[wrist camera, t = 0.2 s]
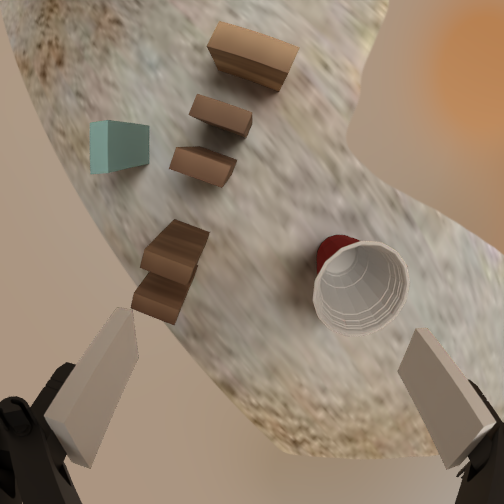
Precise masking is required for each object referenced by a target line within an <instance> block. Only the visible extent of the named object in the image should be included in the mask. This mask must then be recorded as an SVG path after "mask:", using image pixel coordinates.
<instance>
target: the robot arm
mask: <svg viewBox="0 0 504 504" xmlns="http://www.w3.org/2000/svg"><path fill="white" fill-rule="evenodd" d="M138 358H139V355H138V348H137V342H136V334H135V326H134V317H133V310H131V309H125V308H119V307H117V308H116V309H115V311H114V312H113V313H112V315H111V316H110V318H109V319H108V320H107V322H106V323H105V324H104V326H103V327H102V329H101V330H100V331H99V333H98V334H97V336H96V337H95V338H94V340H93V341H92V343H91V344H90V345H89V347H88V348H87V350H86V351H85V353H84V354H83V356H82V357H81V359H80V360H79V362H78V363H77V364H76V365H75V364H72V363H68V362H66V363H65V364H63V365H62V366H60V367H59V368H57V369H56V371H55V372H54V374H53V375H52V377H51V379H50V380H49V381H48V382H47V384H46V386H45V387H44V388H43V389H42V391H41V392H40V394H39V395H38V397H37V398H36V400H35V401H34V403H33V404H32V406H31V407H29V405H28V403H27V402H26V401H25V400H24V399H23V398H20V397H17V396H16V397H8V398H5V399H3V400H2V401H1V402H0V504H22V502H23V504H82V503H81V501H80V498H79V496H78V494H77V492H76V489H75V487H74V485H73V483H72V480H71V478H70V475H69V473H68V470H67V467H66V465H65V463H64V462H63V461H64V459H65V457H66V455H68V457H69V458H70V460H71V461H72V462H73V463H75V464H78V465H81V466H84V467H87V468H89V469H91V466H92V463H93V461H94V459H95V456H96V454H97V451H98V449H99V446H100V444H101V441H102V439H103V437H104V434H105V432H106V429H107V427H108V425H109V423H110V420H111V418H112V416H113V413H114V411H115V409H116V407H117V404H118V402H119V400H120V398H121V395H122V393H123V391H124V389H125V386H126V384H127V382H128V380H129V378H130V376H131V373H132V371H133V369H134V367H135V365H136V363H137V361H138ZM398 373H399V375H400V377H401V379H402V381H403V383H404V384H405V386H406V388H407V390H408V392H409V394H410V396H411V398H412V400H413V401H414V403H415V405H416V407H417V409H418V411H419V413H420V415H421V417H422V419H423V421H424V423H425V425H426V427H427V429H428V431H429V433H430V435H431V437H432V440H433V442H434V444H435V446H436V448H437V450H438V452H439V454H440V456H441V459H442V461H443V463H444V465H445V467H446V469H450V468H452V467H455V466H458V465H460V464H461V463H462V462H463V461H464V460H465V458H466V457H467V456H468V458H469V460H470V461H469V462H468V463H467V465H465V466H464V468H463V469H461V471H459V472H458V474H457V476H456V477H459V476H460V475H461V474H462V473H463V472H464V475H463V476H462V477H461V478H462V482H461V486H460V489H459V492H458V495H457V498H456V502H455V504H504V423H503V422H502V421H501V419H500V418H499V416H498V415H497V413H496V412H495V410H494V409H493V407H492V406H491V405H490V403H489V402H488V401H487V399H486V397H485V396H484V395H482V394H483V393H482V392H481V390H480V389H479V388H478V386H477V385H476V384H474V383H473V382H472V381H471V380H467V379H466V377H465V376H464V374H463V373H462V372H461V370H460V369H459V368H458V366H457V365H456V364H455V362H454V361H453V360H452V358H451V357H450V356H449V354H448V353H447V352H446V351H445V349H444V348H443V347H442V345H441V344H440V343H439V342H438V340H437V339H436V338H435V337H434V335H433V334H432V333H431V332H430V330H429V329H428V328H416V329H415V331H414V334H413V336H412V339H411V341H410V344H409V346H408V349H407V351H406V353H405V356H404V358H403V360H402V362H401V365H400V367H399V369H398Z"/></svg>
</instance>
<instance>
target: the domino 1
mask: <svg viewBox="0 0 504 504" xmlns="http://www.w3.org/2000/svg"><path fill="white" fill-rule="evenodd" d="M145 164H149V126H148V125H141V124H134V123H127V122H119V121H111V120H105V121H98V122H92V123H90V171H91V174H101V173H110V172H114V171H118V170H123V169H127V168H131V167H136V166H140V165H145Z"/></svg>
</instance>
